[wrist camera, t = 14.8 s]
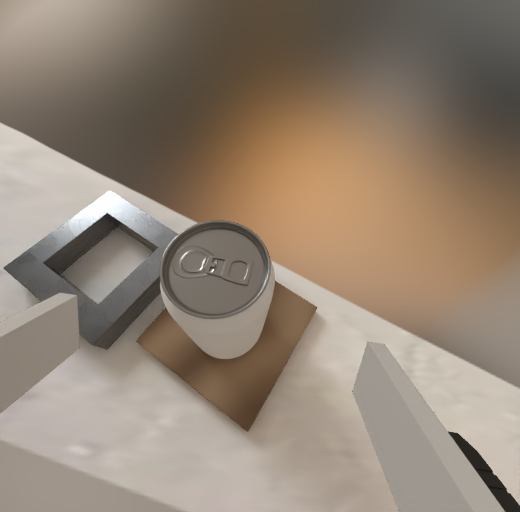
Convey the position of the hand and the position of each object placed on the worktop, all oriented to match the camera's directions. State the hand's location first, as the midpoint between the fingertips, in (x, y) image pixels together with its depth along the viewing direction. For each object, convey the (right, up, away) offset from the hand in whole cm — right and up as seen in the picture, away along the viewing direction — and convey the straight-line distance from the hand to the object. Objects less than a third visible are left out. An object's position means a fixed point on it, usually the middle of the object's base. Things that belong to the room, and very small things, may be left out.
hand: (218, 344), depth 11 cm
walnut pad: (-1, -3, +13) cm, 13 cm away
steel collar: (-14, +3, +15) cm, 20 cm away
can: (-1, -2, +12) cm, 12 cm away
